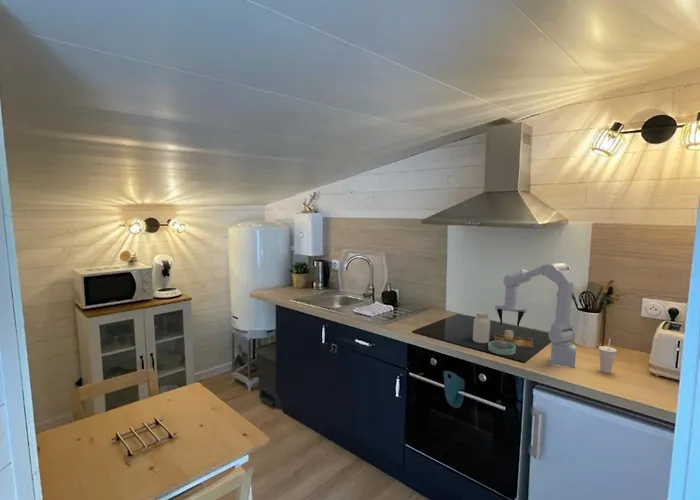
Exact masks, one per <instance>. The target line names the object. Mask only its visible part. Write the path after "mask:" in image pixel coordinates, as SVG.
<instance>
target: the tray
mask: <svg viewBox="0 0 700 500" xmlns="http://www.w3.org/2000/svg"><path fill="white" fill-rule="evenodd" d="M504 339H505V334H504V335H503V334H496V333H494V335H493V341H499V340H502V341H505V340H504ZM509 343H512V344H513V345H515V346H516V347H517V348H525V349H526V348H527V349H534V343H533V338H528V337H522V336H521V337H520V336H513V342H509Z"/></svg>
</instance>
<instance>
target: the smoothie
mask: <svg viewBox="0 0 700 500" xmlns="http://www.w3.org/2000/svg"><path fill="white" fill-rule="evenodd" d="M598 351H599V367H600V371H601V372H603V373H606V374H610V373H612V369H613V365H614V361H615V357H616V354H617V353H618V352H617V351H618V350H617V349H616V348H614V347H611V338H608V346H606V345H605V346H604V345H602V346H598Z"/></svg>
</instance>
